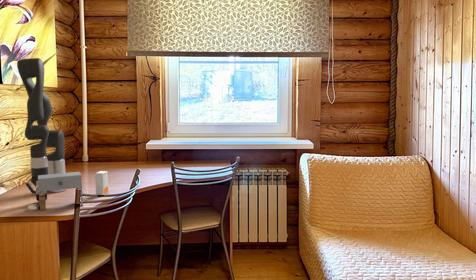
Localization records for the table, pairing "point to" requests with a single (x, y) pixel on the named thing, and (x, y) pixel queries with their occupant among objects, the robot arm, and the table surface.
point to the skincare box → (101, 182)
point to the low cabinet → (60, 182)
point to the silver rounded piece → (34, 207)
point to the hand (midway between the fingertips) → (41, 200)
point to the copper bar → (42, 201)
